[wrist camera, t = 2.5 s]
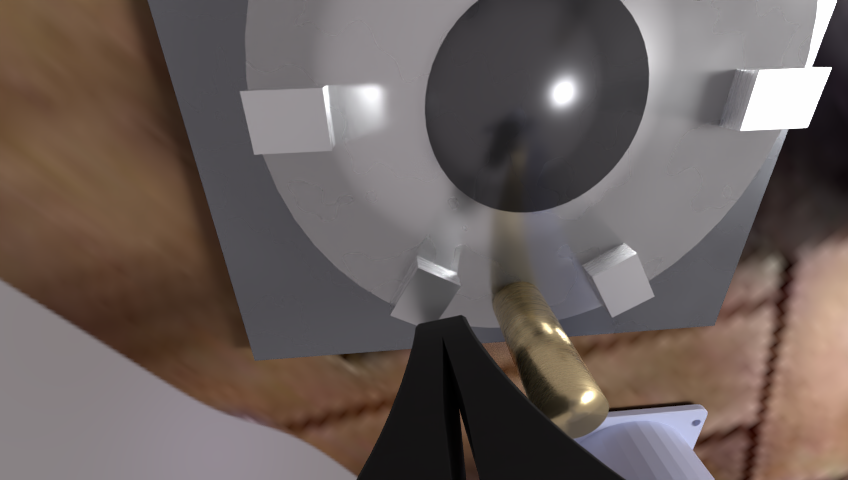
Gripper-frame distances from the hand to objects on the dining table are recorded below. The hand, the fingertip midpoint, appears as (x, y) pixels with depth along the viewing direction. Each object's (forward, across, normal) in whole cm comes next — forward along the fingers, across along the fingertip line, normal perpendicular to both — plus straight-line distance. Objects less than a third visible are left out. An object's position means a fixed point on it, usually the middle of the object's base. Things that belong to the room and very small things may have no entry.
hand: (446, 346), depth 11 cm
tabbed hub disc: (+4, -4, -6) cm, 8 cm away
